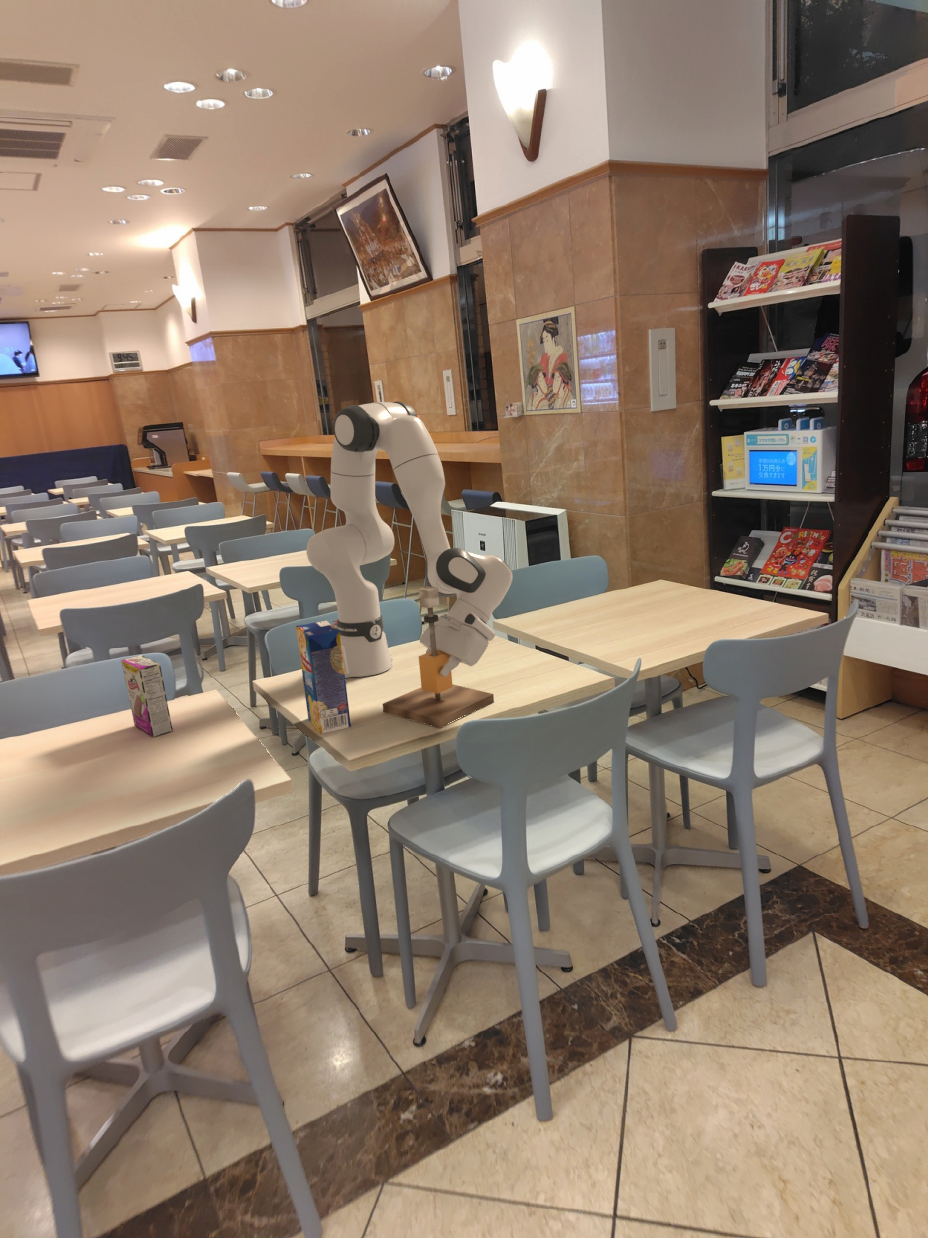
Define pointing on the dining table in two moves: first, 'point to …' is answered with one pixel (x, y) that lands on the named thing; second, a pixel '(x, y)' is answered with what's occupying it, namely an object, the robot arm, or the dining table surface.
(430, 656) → the marker sleeve
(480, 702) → the cord stand
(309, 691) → the blue food box
